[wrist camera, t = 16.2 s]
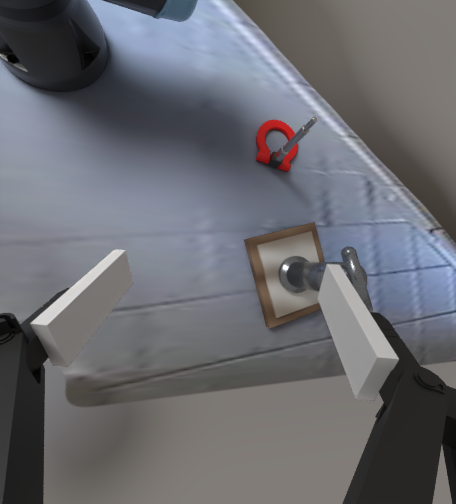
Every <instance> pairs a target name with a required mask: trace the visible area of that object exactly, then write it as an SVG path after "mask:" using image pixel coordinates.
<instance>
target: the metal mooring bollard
mask: <svg viewBox="0 0 456 504" xmlns="http://www.w3.org/2000/svg"><path fill="white" fill-rule="evenodd" d="M341 255H342V259H343V262H309V261H308V260H307V259H305V258H304V257H301V256H292V257H289V258H287V259H285V260H284V261H283V262H282V264H281V266H280V268H279V281H280V283H281V285H282V286H283V287H284V288H285V289H286V290H288V291H290V292H294V293H301V292H304V291H305V290H307V289H308V290H313V291H318V292H319V291H320V287H321V283H322V280H323V276H324V272H325V268H326V265H327V264H336V265H340V267H341V268H342V270H343V271H344V273H345V274H346V276H347V278H348V279H349V281H350V282H351V284H352V286H353V287H354V289H355V290H356V292H357V293H358V295H359V297H360V298H361V300H362V301H363V303H364V304H365V306H366V308H367V309H368V311H369V312H372V309H373V308H372V304H371V301H370V298H369V294H368V291H367V287H366V285H367V276H366V272H365V270H364V269H363V268H362V266H360V263H359V260H358V257H357V253H356V250H355V249H354V248H352V247H345V248H344V249H343V250H342V252H341Z"/></svg>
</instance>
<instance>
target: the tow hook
mask: <svg viewBox="0 0 456 504" xmlns="http://www.w3.org/2000/svg"><path fill="white" fill-rule="evenodd" d="M316 122H317V118H316V117H313V118H312V119H311V120H310V121H309V122H308V123H307V124H306V125H303V126H302V127H301V128H300V129H299V130H298V132H297V133H296V134H295V133H294V132H293V130H292V129H291V128H290V127H289V126H288V125H287V124H285V123H284V122H281V121H279V120H269V121H267V122H265V123H264V124H263V125H262V126H261V127H260V128H259V130H258V132H257V137H256V141H257V146H258V149H259V153H258V154H257V157H256V160H258V161H260V162H263V163H265V164H267V165H269V166H272V167H274V168H278V169H281V170H284V171H286V172H288V171H289V170H290V167H291V165H290V164H289V163H290V161H291V160H292V159H293V157H294V156H295V155H296V153H297V149H298V142H299V141H300V140H301V139H302V138H303V137H304V136H305V135H306V134H307V133H308V132H309V129H310V128H311V127H312V126H313V125H314V124H315V123H316ZM273 129H275V130H279V131H281V132H283V133H284V134H285V135H286V137H287V138H288V142H287V143H286V145H284V146H283V147H282V148H281V149H280V150H279V151H278V152H273V153H272V154H271V155H270V150H269V148H268V147H267V145H266V142H265V135H266V133H267V132H268V131H269V130H273Z"/></svg>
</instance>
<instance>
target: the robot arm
mask: <svg viewBox="0 0 456 504" xmlns="http://www.w3.org/2000/svg"><path fill="white" fill-rule="evenodd" d="M103 1H106V2H110V3H113V4H116V5H119V6H122V7H125V8H128V9H131V10H134V11H137V12H140V13H143V14H147V15H150V16H152V17H153V18H157V19H159V18H164V19H169V20H173V21H178V22H182V21H185V20H187V19H188V18H189V17H190V16H191V15H192V13H193V11H194V9H195V6H196V4H197V0H103ZM107 57H108V49H107V44H106V40H105V36H104V33H103V29H102V26H101V24H100V22H99V19H98V17H97V16H96V14H95V12H94V11H93V9H92V7H91V6H90V4H89V3H88V1H87V0H0V60H1V61H2V62H3V63H4V65H5V66H6V67H7V68H8V69H9V70H10V71H11V72H12V73H14V74H15V75H16V76H17V77H19V78H20V79H22V80H24V81H25V82H27V83H29V84H31V85H34V86H36V87H39V88H42V89H46V90H51V91H73V90H77V89H81V88H83V87H86V86H88V85H89V84H91V83H93V82H94V81H95V80H96V79H97V78H98V77H99V76H100V75H101V73H102V72H103V70H104V68H105V66H106V63H107ZM132 284H133V281H132V276H131V272H130V267H129V263H128V258H127V254H126V250H116V249H115V250H114V251H112V252H111V253H110V254H109V255H108V256H107V257H106V258H104V259H103V260H102V261H101V262H100V263H99V264H98V265H96V266H95V267H94V268H93V269H92V270H91V271H90V272H88V273H87V274H86V275H85V276H84V277H83V278H82V279H80V280H79V281H78V282H77V283H76V284H75V285H74V286H72V287H71V288H67V289H65V290H63V291H61V292H59V293H57V294H56V295H55V296H54V297H53V298H51V299H50V301H48V302H47V303H45V304H44V305H43V307H41V308H40V309H38V310H37V311H36V312H35V313H34V314H32V315H31V316H30V317H29V318H28V319H26V320H25V321H24V322H23V323H22V324H21V325H20V324H19V322H18V321H17V319H16V317H15V315H14V314H11V313H2V314H0V504H43V480H44V479H43V478H44V477H43V476H44V399H45V398H44V397H45V395H44V394H45V368H44V365H43V363H44V362H45V361H46V360H47V359H48V358H49V359H50V361H51V363H52V365H53V366H61V367H69V366H70V364H71V363H72V362H73V360H74V359H75V358H76V356H77V355H78V354H79V353H80V351H81V350H82V349H83V347H84V346H85V345H86V344H87V342H88V341H89V340H90V338H91V337H92V336H93V335H94V333H95V332H96V331H97V329H98V328H99V327H100V326H101V324H102V323H103V322H104V320H105V319H106V318H107V316H108V315H109V314H110V313H111V311H112V310H113V309H114V307H115V306H116V305H117V304H118V302H119V301H120V300H121V298H122V297H123V296H124V295H125V293H126V292H127V291H128V289H129V288H130V287H131V286H132ZM318 301H319V303H320V306H321V309H322V311H323V314H324V317H325V319H326V322H327V325H328V327H329V330H330V333H331V335H332V338H333V340H334V343H335V346H336V348H337V351H338V354H339V356H340V359H341V362H342V364H343V367H344V369H345V372H346V375H347V377H348V380H349V383H350V385H351V387H352V390H353V393H354V396H355V398H356V399H360V400H369V401H375V399H376V397H377V396H378V394H379V393H380V395H381V398H382V400H383V402H384V403H383V405H382V407H381V408H380V410H379V411H378V413H377V415H376V417H377V419H376V422H375V424H374V427H373V429H372V432H371V434H370V437H369V439H368V442H367V444H366V447H365V449H364V452H363V454H362V457H361V459H360V461H359V464H358V466H357V469H356V472H355V474H354V476H353V479H352V481H351V484H350V486H349V489H348V491H347V494H346V496H345V499H344V501H343V504H432V502H433V495H434V489H435V483H436V477H437V470H438V463H439V458H440V451H441V445H442V446H443V451H444V457H445V463H446V468H447V475H448V480H449V486H450V492H451V498H452V504H456V389H454V388H451V387H449V386H446V384H445V383H444V382H443V381H442V380H441V379H440V378H439V377H438V376H437V375H436V374H434V373H433V372H431V371H430V370H428V369H426V368H423V367H421V366H420V365H419V364H418V362H417V361H416V359H415V358H414V356H413V355H412V354H411V352H410V351H409V349H408V348H407V347H406V345H405V344H404V342H403V341H402V339H400V337H399V335H398V334H397V332H396V331H395V329H394V328H393V327H392V325H391V324H390V322H389V321H388V320H387V319H386V318H384V317H383V316H382V315H381V314H380V313H373V312H369V311H368V309H367V308H366V306H365V304H364V303H363V301H362V300H361V298H360V297H359V295H358V293H357V292H356V290H355V289H354V287H353V286H352V284H351V282H350V281H349V279H348V278H347V276H346V274H345V273H344V271H343V270H342V268H341V267H340V265H336V264H327V265H326V268H325V272H324V276H323V280H322V283H321V287H320V291H319V294H318Z"/></svg>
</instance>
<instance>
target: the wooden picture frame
mask: <svg viewBox="0 0 456 504" xmlns="http://www.w3.org/2000/svg"><path fill="white" fill-rule="evenodd" d="M244 241H245V245H246V249H247V253H248V257H249V261H250V265H251V268H252V272H253V276H254V280H255V284H256V288H257V292H258V296H259V300H260V304H261V308H262V311H263V315H264V319H265V323H266V326H267V327H268V328H272V327H275V326H278V325H280V324H283V323H286V322H289V321H291V320H294V319H297V318H299V317H302V316H305V315H307V314H310V313H313V312H315V311H318V310H321V306H320V303H319V301H318V294H319V292H318V291H313V290H308V289H307V290H305V291H304V292H301V293H294V292H290V291H288V290H286V289H285V288H284V287H283V286H282V285H281V283H280V281H279V268H280V266H281V264H282V262H283V261H284V260H285V259H287V258H289V257H292V256H301V257H304V258H305V259H307V260H308V261H309V262H325V261H324V257H323V253H322V249H321V245H320V242H319V238H318V234H317V230H316V226H315V222H313V223H309V224H305V225H301V226H297V227H293V228H289V229H285V230H281V231H277V232H273V233H269V234H265V235H261V236H257V237H253V238H249V239H246V240H244Z"/></svg>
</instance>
